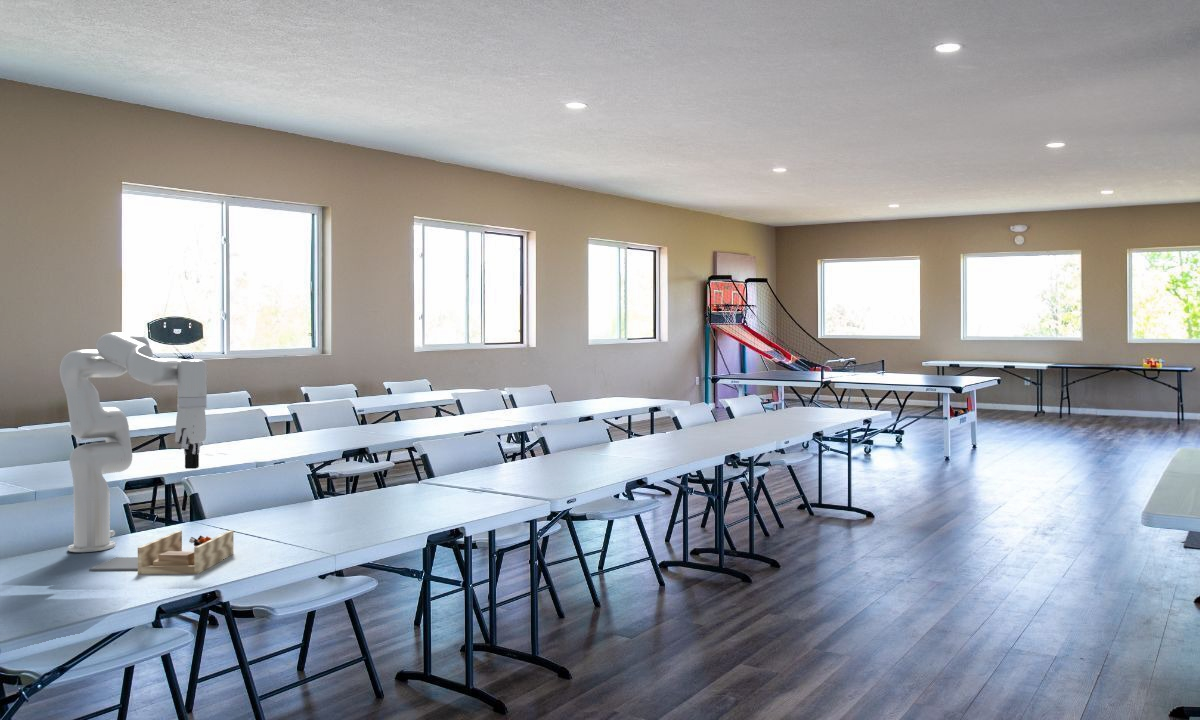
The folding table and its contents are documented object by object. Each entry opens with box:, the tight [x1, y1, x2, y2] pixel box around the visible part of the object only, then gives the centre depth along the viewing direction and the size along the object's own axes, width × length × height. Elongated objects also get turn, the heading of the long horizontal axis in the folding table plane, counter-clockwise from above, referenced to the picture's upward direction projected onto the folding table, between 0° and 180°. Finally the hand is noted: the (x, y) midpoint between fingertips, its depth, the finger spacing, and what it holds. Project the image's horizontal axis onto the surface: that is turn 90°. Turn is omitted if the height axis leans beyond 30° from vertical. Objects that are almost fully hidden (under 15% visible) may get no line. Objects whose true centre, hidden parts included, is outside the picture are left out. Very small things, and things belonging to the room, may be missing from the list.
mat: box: [88, 556, 138, 572], centre depth 251 cm, size 14×14×1 cm
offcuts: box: [153, 550, 194, 566], centre depth 245 cm, size 6×10×4 cm, turn 91°
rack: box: [137, 530, 234, 575], centre depth 252 cm, size 24×16×7 cm, turn 1°
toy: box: [188, 535, 212, 547], centre depth 264 cm, size 8×6×15 cm
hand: (191, 468), depth 256 cm, fingers closed
